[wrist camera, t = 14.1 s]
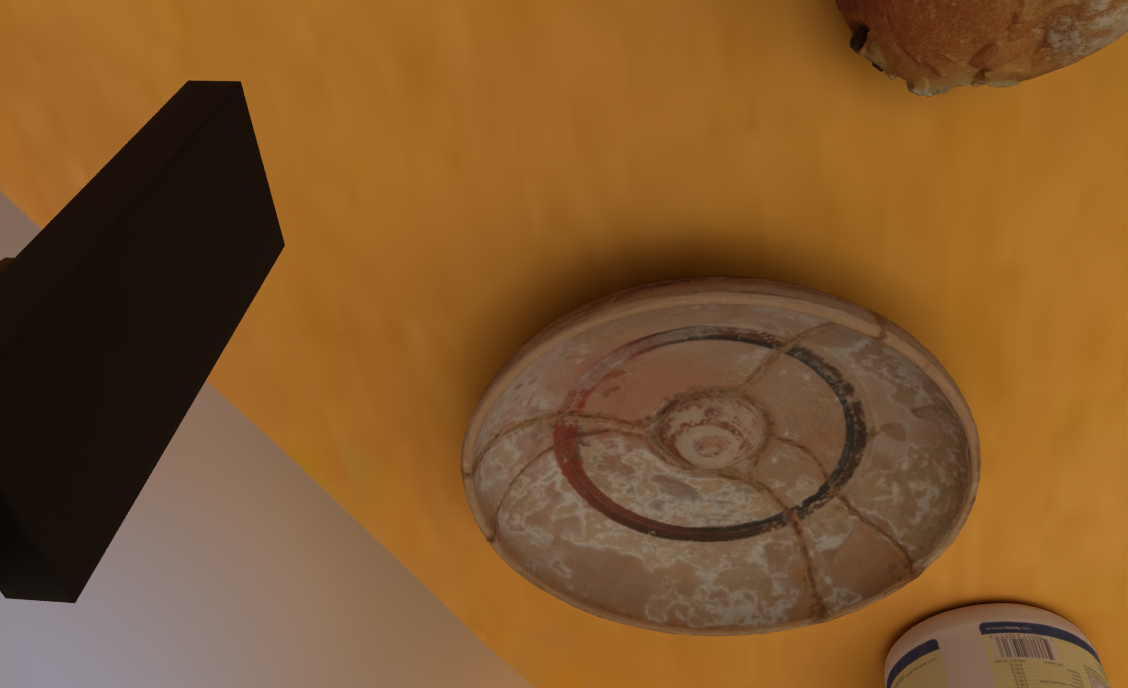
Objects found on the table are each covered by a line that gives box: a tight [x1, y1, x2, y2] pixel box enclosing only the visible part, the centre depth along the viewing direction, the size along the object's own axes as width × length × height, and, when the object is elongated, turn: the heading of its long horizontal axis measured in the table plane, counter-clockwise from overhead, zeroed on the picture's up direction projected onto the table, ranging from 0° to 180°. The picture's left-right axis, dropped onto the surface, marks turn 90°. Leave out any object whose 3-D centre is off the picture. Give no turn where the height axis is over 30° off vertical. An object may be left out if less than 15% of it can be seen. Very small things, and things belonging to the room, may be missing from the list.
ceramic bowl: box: [461, 276, 981, 636], centre depth 43 cm, size 23×24×5 cm
